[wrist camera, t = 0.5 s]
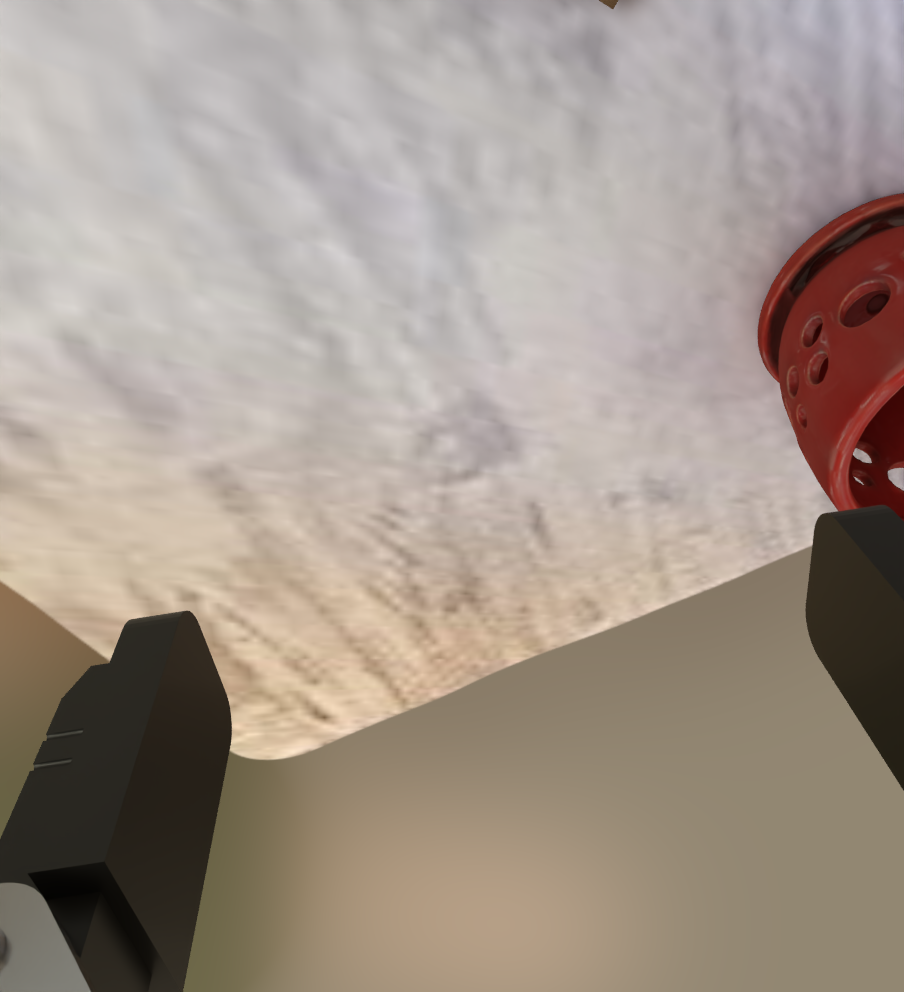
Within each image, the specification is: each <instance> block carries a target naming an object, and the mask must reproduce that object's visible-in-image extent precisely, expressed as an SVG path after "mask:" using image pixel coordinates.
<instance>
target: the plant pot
mask: <svg viewBox="0 0 904 992" xmlns="http://www.w3.org/2000/svg"><path fill="white" fill-rule="evenodd" d="M758 346H759V351H760V355H761V357H762V360H763V363H764V365H765V366H766V368H767V370H768V371H769V373H770V374H771V375H772V376H773V378H774V379H775V380H777V381H778V382H779V383H780V388H781V394H782V399H783V403H784V406H785V409H786V411H787V414H788V417H789V419H790V422H791V424H792V427H793V429H794V432H795V434H796V437H797V441H798V444H799V447H800V449H801V451H802V453H803V455H804V457H805V459H806V461H807V462H808V464H809V466H810V468H811V469H812V471H813V473H814V475H815V477H816V479H817V480H818V482H819V483H820V485H821V487H822V488H823V490H824V491H825V493H826V494H827V495H828V497H829V498H830V500H831V501H832V503H833V504H834V506H835V507H836V508H837V510H838V511H844V510H850V509H857V508H863V507H870V506H876V505H886V506H888V507H890V508H891V509H892V510H893V511H894V512H895V513H896V514H897V515H898V516H899V517H900V518H901V519H902V520H903V521H904V491H903V490H901V489H900V488H898V487H896V486H895V485H894V484H893V483H892V482H891V481H890V480H889V478H888V471H889V470H890V469H894V468H904V193H903V194H896V195H891V196H887V197H883V198H880V199H877V200H874V201H871V202H868V203H866V204H863V205H861V206H859V207H857V208H855V209H853V210H851V211H849V212H847V213H845V214H843V215H841V216H840V217H838V218H836V219H835V220H833V221H831V222H830V223H829V224H827V225H826V226H824V227H823V228H822V229H821V230H819V231H818V232H817V233H815V234H814V235H813V236H812V237H810V238H809V239H808V240H807V241H806V242H805V243H804V244H803V245H802V246H801V247H800V248H799V249H798V250H797V251H796V252H795V253H794V254H793V255H792V256H791V258H790V259H789V260H788V261H787V263H786V264H785V265H784V266H783V268H782V269H781V271H780V272H779V274H778V276H777V277H776V279H775V280H774V282H773V284H772V285H771V288H770V290H769V292H768V294H767V296H766V299H765V301H764V304H763V307H762V310H761V314H760V318H759V325H758ZM855 448H857V449H860V450H862V451H864V452H865V453H867V454H868V455H869V457H870V458H871V461H872V463H864V462H862V461H861V460H859V459H857V458H855V457H854V456H853V452H854V449H855ZM853 476H854V477H856V478H858V479H859V480H860V481H861V482H862V483H863V484H864V485H862V484H861V483H859V482H858V481H856V480H855V478H854V477H853Z"/></svg>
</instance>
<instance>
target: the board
mask: <svg viewBox="0 0 904 992" xmlns="http://www.w3.org/2000/svg"><path fill="white" fill-rule="evenodd" d="M599 1H601V2H602V3H604V4H605V5H607V6H609V7H610V8H612V9H614V7H615V5H616V4H617V2H618V0H599Z"/></svg>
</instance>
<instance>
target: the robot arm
mask: <svg viewBox="0 0 904 992" xmlns="http://www.w3.org/2000/svg"><path fill="white" fill-rule="evenodd" d="M806 622H807V627H808V632H809V636H810V639H811V642H812V644H813V647H814V650H815V652H816V654H817V655H818V657H819V659H820V660H821V662H822V663H823V665H824V667H825V668H826V670H827V671H828V673H829V674H830V676H831V677H832V679H833V681H834V682H835V684H836V685H837V687H838V688H839V690H840V692H841V693H842V695H843V696H844V698H845V699H846V701H847V703H848V704H849V706H850V707H851V709H852V710H853V712H854V713H855V715H856V717H857V718H858V720H859V721H860V723H861V724H862V726H863V728H864V729H865V731H866V732H867V734H868V735H869V737H870V738H871V740H872V742H873V743H874V745H875V746H876V748H877V749H878V751H879V752H880V754H881V756H882V757H883V759H884V760H885V762H886V764H887V765H888V767H889V768H890V770H891V771H892V773H893V775H894V776H895V778H896V779H897V781H898V782H899V784H900V785H901V787H902V788H903V790H904V521H903V520H902V519H901V518H900V517H899V516H898V515H897V514H896V513H895V512H894V511H893V510H892V509H891V508H890V507H888V506H886V505H876V506H870V507H863V508H857V509H850V510H844V511H838V512H831V513H825V514H822V515H820V516H819V518H818V519H817V521H816V525H815V529H814V537H813V546H812V556H811V564H810V573H809V582H808V592H807V600H806ZM46 735H47V741H43V743H42V745H41V747H40V749H39V752H38V754H37V756H36V759H35V761H34V763H33V764H34V771H30V772H29V775H28V777H27V780H26V782H25V784H24V786H23V788H22V791H21V793H20V795H19V797H18V800H17V802H16V804H15V807H14V809H13V811H12V814H11V816H10V818H9V820H8V823H7V825H6V827H5V830H4V832H3V834H2V836H1V839H0V992H183V988H184V983H185V978H186V973H187V967H188V962H189V957H190V951H191V947H192V942H193V936H194V931H195V926H196V921H197V916H198V911H199V905H200V900H201V895H202V890H203V885H204V880H205V874H206V869H207V863H208V859H209V853H210V848H211V843H212V838H213V833H214V827H215V823H216V817H217V812H218V807H219V802H220V797H221V791H222V786H223V781H224V776H225V771H226V765H227V760H228V755H229V750H230V745H231V736H232V722H231V712H230V706H229V701H228V698H227V695H226V692H225V689H224V687H223V684H222V682H221V679H220V676H219V674H218V671H217V669H216V666H215V664H214V661H213V659H212V656H211V654H210V651H209V648H208V646H207V643H206V641H205V638H204V636H203V633H202V631H201V628H200V626H199V623H198V621H197V619H196V617H195V616H194V615H193V613H191V612H190V611H182V612H175V613H169V614H162V615H156V616H150V617H143V618H137V619H131V620H129V621H128V622H127V623H126V624H125V626H124V628H123V630H122V632H121V635H120V637H119V640H118V643H117V645H116V648H115V650H114V653H113V655H112V658H111V660H110V663H108V664H101V665H95V666H91V667H90V668H89V669H88V670H87V671H86V672H85V674H84V675H83V676H82V677H81V678H80V679H79V680H78V681H77V682H76V684H75V685H74V686H73V687H72V688H71V689H70V690H69V691H68V693H66V695H65V696H64V697H63V698H62V699H61V701H60V704H59V706H58V708H57V711H56V713H55V715H54V717H53V720H52V722H51V724H50V727H49V729H48V731H47V734H46Z"/></svg>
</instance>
